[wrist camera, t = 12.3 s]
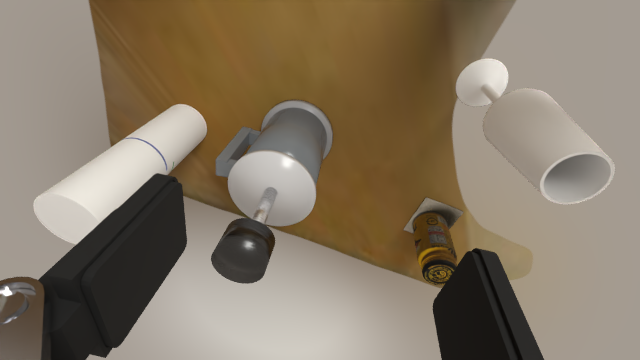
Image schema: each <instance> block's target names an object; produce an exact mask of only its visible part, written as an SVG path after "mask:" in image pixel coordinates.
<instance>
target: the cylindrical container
mask: <svg viewBox="0 0 640 360" xmlns="http://www.w3.org/2000/svg"><path fill="white" fill-rule="evenodd" d="M206 134H207V125H206V122H205V120H204V118H203V117H202V115H201V114H200V113H199V112H198V111H197V110H196V109H194V108H192V107H191V106H188V105H184V104H177V105H174V106H172V107H170V108H169V109H167V110H166V111H164V112H163V113H161V114H160V115H158V116H157V117H156V118H154V119H153V120H151V121H150V122H148V123H147V124H145V125H144V126H142V127H141V128H139V129H138V130H136V131H135V132H133V133H132V134H130V135H129V136H127V137H126V138H124V139H123V140H121V141H120V142H118V143H117V144H115V145H114V146H112V147H111V148H110V149H108V150H107V151H105V152H103V153H102V154H100V155H99V156H98V157H96V158H95V159H93V160H92V161H90V162H89V163H87V164H86V165H84V166H83V167H81V168H80V169H78V170H77V171H75V172H74V173H73V174H71V175H69V176H68V177H66V178H65V179H63V180H62V181H60V182H59V183H57V184H56V185H54V186H53V187H51V188H50V189H48V190H47V191H45V192H44V193H43V194H41V195H39V196H38V197H37V198H36V199H35V201H34V211H35V214H36V216H37V217H38V219H39V220H40V222H41V223H42V224H43V225H44V226H45V227H46V228H47V229H48V230H49V231H51V232H52V233H53V234H55V235H56V236H58V237H60V238H61V239H63V240H66V241H68V242H70V243H73V244H76V245H77V244H78V243H79V242H80V241H81V240H82V239H83V238H84V237H85V236H86V235H87V234H89V233H90V232H91V231H92V230H93V229H94V228H95V227H96V226H97V225H98V224H99V223H100V222H102V221H103V220H104V219H105V218H106V217H107V216H108V215H109V214H110V213H111V212H113V211H114V210H115V209H117V208H119V207H120V206H121V205H122V204H123V203H124V202H125V201H126V200H127V199H128V198H129V197H130V196H132V195H133V194H134V193H135V192H136V191H137V190H138V189H139V188H140V187H141V186H142V185H143V184H144V183H146V182H147V181H148V180H149V179H150V178H151V177H152V176H153V175H154V174H156V173H159V174H164V175H168V174H169V173H170V172H171V171H172V170H173V169H174V168H175V167H176V166H177V165H178V164H179V163H180V162H181V161H182V160H183V159H184V158H185V157H186V156H187V155H188V154H189V153H190V152H191V151H192V150H193V149H194V148H195V147H196V146H197V145H198V144H199V143H200V142H201V141H202V140H203V139H204V138H205V136H206Z"/></svg>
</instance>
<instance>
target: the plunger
mask: <svg viewBox="0 0 640 360" xmlns="http://www.w3.org/2000/svg"><path fill="white" fill-rule="evenodd" d="M277 195H278V192H277V190H276V189H275V188H273V187H268V188H266V189H265V191H264V193H263V195H262V197H261V199H260V201H259V203H258V205H257V207H256V209H255V211H254V213H253V215H252V217H251V219H248V218H241V219H237V220H234V221H232V222H231V223H230V224H229V225H228V227H227V229H226V231H225V232H224V234H223V236H222V238H221V239H220V241H219V243H218V245H217V247H216V249H215V250H214V252H213V254H212V256H211V261H212V264H213V266H214V268H215V269H216V271H217V272H218V273H219V274H221V275H222V276H224V277H225V278H227V279H229V280H231V281H234V282H238V283H254V282H257V281H258V280H260V279H261V278H262V277H263V276H264V273H265V271H266V268H267V265H268V262H269V259H270V256H271V254H272V251H273V248H274V245H275V237H274V235H273V233H272V231H271V230H270V229H269V228H268V227H267V226H266V225H265V223H266V221H267V218H268V216H269V214H270V211H271V209H272V206H273V204H274V202H275V199H276V197H277Z"/></svg>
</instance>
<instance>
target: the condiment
mask: <svg viewBox="0 0 640 360" xmlns="http://www.w3.org/2000/svg"><path fill="white" fill-rule="evenodd" d="M430 209H431V210H430ZM462 214H463V211H460V210H459V209H456V208H453V207H451V206H448V205H446V204H443V203H440V202H437V201H435V200H432V199H429V198H425V200H424V201H423V202H422V204H421V206H420V207H419V208H418V210H417V211H416V212H415V214H414V215H413V216H412V218H411V219H410V221H409V222H408V223H407V225H406V226H405V228H404V230H405V231H408V232H411V233H414V240H415V246H416V252H417V258H418V263H419V265H420V266H421V269H422V274H423V277H424V279H425V280H426V281H428V282H429V283H432V284H435V285H444V284H445V283H446V282H447V280H448V279H449V277H450V276H451V275H452V273H453V272H454V270H455V269H456V267H457V264H456V262H457V256H456V252H455V249H454V246H453V242H452V239H451V235H450V232H449V229H450V228H451V226H453V224H454V223H455V222H456V220H457V219H458V218H459V217H460V216H461V215H462Z"/></svg>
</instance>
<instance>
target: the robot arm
mask: <svg viewBox="0 0 640 360" xmlns="http://www.w3.org/2000/svg"><path fill="white" fill-rule="evenodd" d="M186 244H187V236H186V225H185V213H184V203H183V191H182V184H181V183H178V181H177V179H176V178H175V177H172V176H168V175H164V174H159V173H156V174H154V175H153V176H152V177H151V178H150V179H149V180H148V181H147V182H146V183H144V184H143V185H142V186H141V187H140V188H139V189H138V190H137V191H136V192H135V193H134V194H133V195H132V196H130V197H129V198H128V199H127V200H126V201H125V202H124V203H123V204H122V205H121V206H120V207H119V208H117V209H115V210H114V211H113V212H111V213H110V214H109V215H108V216H107V217H106V218H105V219H104V220H103V221H102V222H100V223H99V224H98V225H97V226H96V227H95V228H94V229H93V230H92V231H91V232H90V233H89V234H87V235H86V236H85V237H84V238H83V239H82V240H81V241H80V242H79V243H78V244H77V245H76V246H75V247H73V248H72V249H71V250H70V251H69V252H68V253H67V254H66V255H65V256H64V257H63V258H61V259H60V260H59V261H58V262H57V263H56V264H55V265H54V266H53V267H52V268H51V269H50V270H48V271H47V272H46V273H45V274H44V275H43V276H42V277H41V278H40V279H39V280H37V279H33V278H31V277H14V278H8V279H4V280H1V281H0V360H86V358H87V357H88V356H89V354H92V355H96V356H100V357H105V358H106V357H107V355H108V354H109V352H110V351H111V349H112V348H117V347H118V346H119V345H120V344H121V343H122V342H123V341H124V339H125V338H126V336H127V335H128V333H129V332H130V330H131V329H132V327H133V326H134V324H135V323H136V321H137V320H138V318H139V317H140V315H141V314H142V312H143V311H144V309H145V308H146V306H147V305H148V303H149V302H150V301H151V299H152V298H153V296H154V295H155V293H156V292H157V290H158V289H159V287H160V286H161V284H162V283H163V281H164V280H165V278H166V277H167V275H168V274H169V272H170V271H171V269H172V268H173V266H174V265H175V263H176V262H177V260H178V259H179V257H180V256H181V254H182V253H183V251H184V250H185V247H186ZM433 314H434V319H435V325H436V330H437V336H438V341H439V347H440V352H441V358H442V360H544V358H543V356H542V354H541V352H540V350H539V347H538V345H537V343H536V340H535V338H534V336H533V334H532V332H531V329H530V327H529V325H528V323H527V320H526V318H525V316H524V314H523V311H522V309H521V307H520V305H519V302H518V300H517V298H516V296H515V293H514V291H513V289H512V287H511V284H510V282H509V280H508V278H507V275H506V273H505V271H504V269H503V266H502V264H501V262H500V260H499V257H498V256H497V254H496V253H494V252H490V251H486V250H482V249H478V248H475V249H473V250H472V251H468V252H467V253H466V254H465V255H464V257H463V258H462V260H461V261H460V263H459V264H458V266H457V267H456V269H455V270H454V272H453V273H452V275H451V276H450V277H449V279H448V280H447V282H446V283H445V285H444V286H443V288H442V289H441V291H440V292H439V294H438V295H437V297H436V298H435V300H434V303H433Z"/></svg>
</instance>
